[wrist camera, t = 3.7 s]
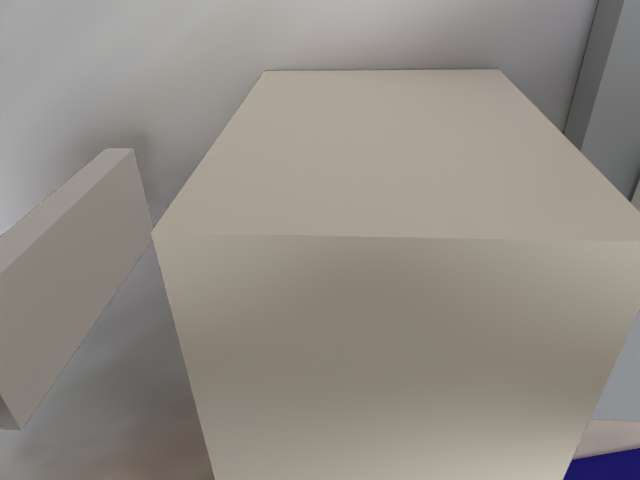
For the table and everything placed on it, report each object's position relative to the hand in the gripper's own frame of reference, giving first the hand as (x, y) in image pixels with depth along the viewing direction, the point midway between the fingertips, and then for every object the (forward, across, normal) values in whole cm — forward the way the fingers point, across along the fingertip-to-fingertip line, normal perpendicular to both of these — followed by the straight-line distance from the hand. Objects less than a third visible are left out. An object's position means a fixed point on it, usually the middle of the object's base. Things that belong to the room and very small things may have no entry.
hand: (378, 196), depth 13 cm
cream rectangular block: (+1, 0, 0) cm, 1 cm away
